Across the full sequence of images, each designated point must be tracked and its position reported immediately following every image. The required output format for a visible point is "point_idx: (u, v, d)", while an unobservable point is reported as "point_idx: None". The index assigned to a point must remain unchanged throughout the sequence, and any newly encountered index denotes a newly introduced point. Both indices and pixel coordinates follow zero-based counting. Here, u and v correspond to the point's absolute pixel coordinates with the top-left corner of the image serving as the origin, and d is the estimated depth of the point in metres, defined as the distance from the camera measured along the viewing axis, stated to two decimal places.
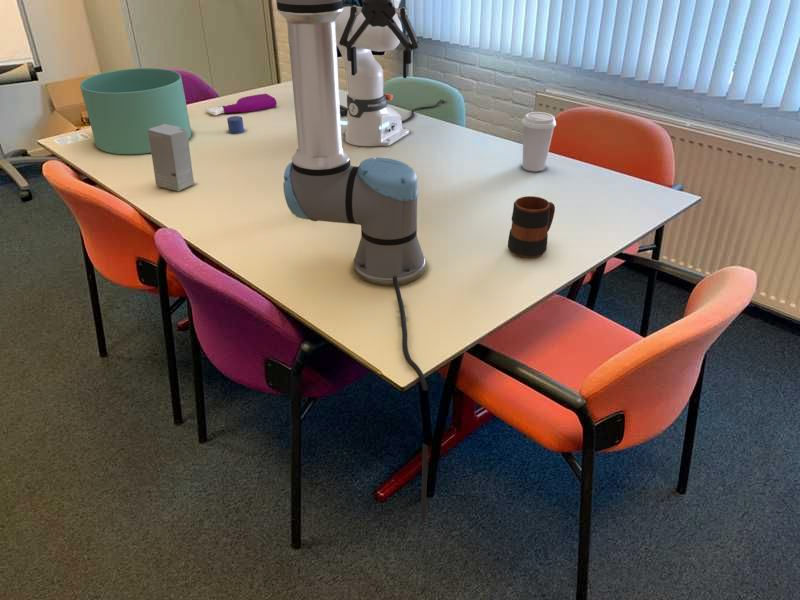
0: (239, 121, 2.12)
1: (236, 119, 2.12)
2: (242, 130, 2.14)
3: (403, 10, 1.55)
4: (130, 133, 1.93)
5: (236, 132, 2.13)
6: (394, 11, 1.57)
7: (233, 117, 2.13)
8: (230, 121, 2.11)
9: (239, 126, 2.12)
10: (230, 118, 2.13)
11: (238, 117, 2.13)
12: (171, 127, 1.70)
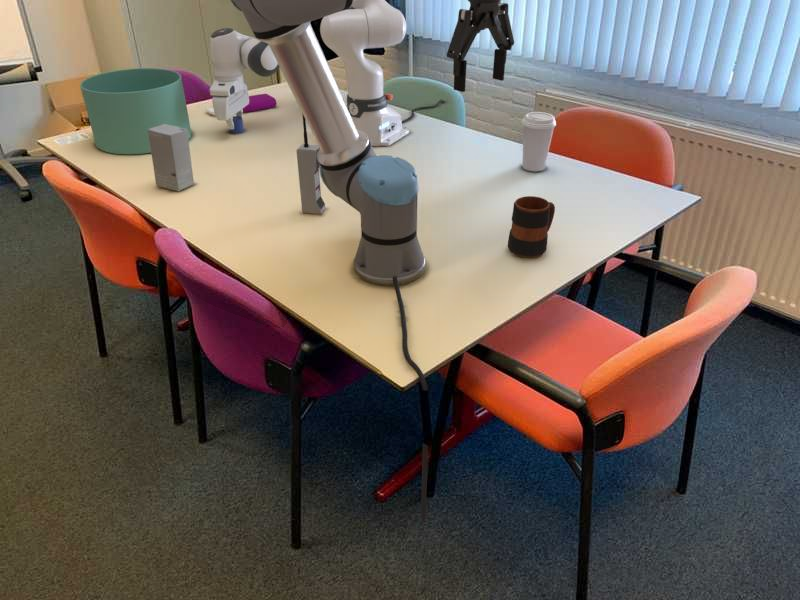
0: (239, 121, 2.12)
1: (236, 119, 2.12)
2: (242, 130, 2.14)
3: (507, 5, 1.40)
4: (130, 133, 1.93)
5: (236, 132, 2.13)
6: None
7: (233, 117, 2.14)
8: None
9: (239, 126, 2.12)
10: None
11: (238, 117, 2.14)
12: (171, 127, 1.70)
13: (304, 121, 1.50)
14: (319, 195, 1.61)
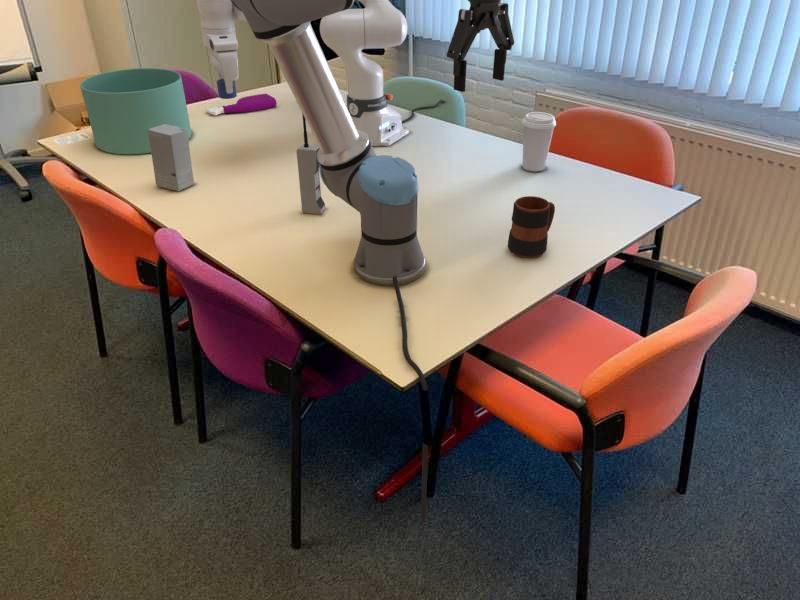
0: (234, 82, 1.80)
1: None
2: None
3: (507, 5, 1.40)
4: (130, 133, 1.93)
5: (232, 96, 1.80)
6: None
7: (222, 80, 1.80)
8: None
9: (234, 89, 1.80)
10: (221, 81, 1.79)
11: None
12: (171, 127, 1.70)
13: (304, 121, 1.50)
14: (319, 195, 1.61)
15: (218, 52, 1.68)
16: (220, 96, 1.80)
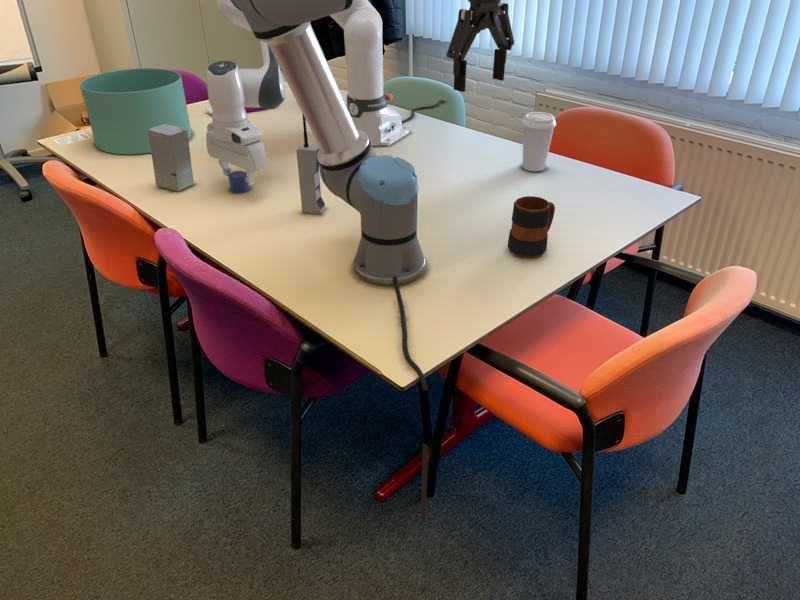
0: None
1: (243, 174, 1.72)
2: None
3: (507, 5, 1.40)
4: (130, 133, 1.93)
5: (247, 189, 1.74)
6: None
7: (233, 174, 1.72)
8: (241, 177, 1.71)
9: None
10: (234, 176, 1.71)
11: (237, 172, 1.73)
12: (171, 127, 1.70)
13: (304, 121, 1.50)
14: (319, 195, 1.61)
15: (246, 145, 1.61)
16: (235, 191, 1.72)
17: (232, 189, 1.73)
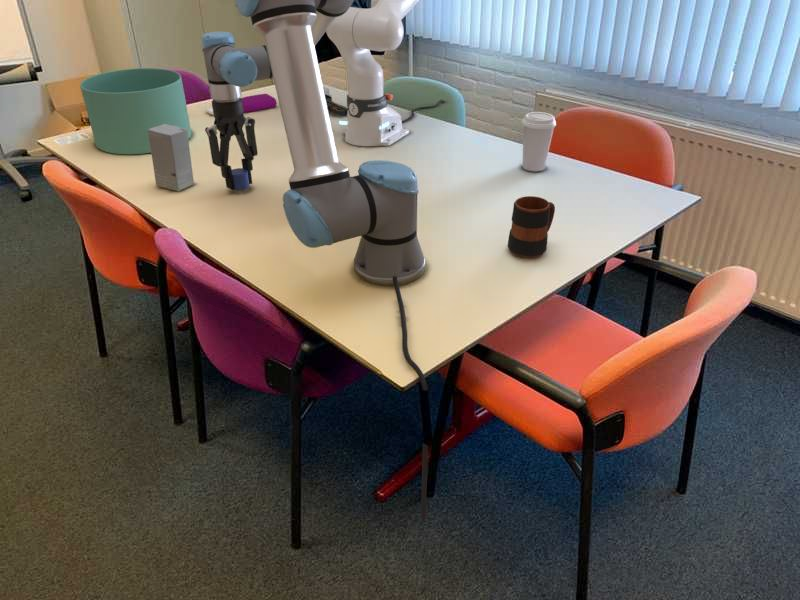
0: (247, 172, 1.72)
1: (243, 171, 1.72)
2: None
3: (254, 121, 1.68)
4: (130, 133, 1.93)
5: (248, 186, 1.73)
6: (245, 118, 1.66)
7: (233, 171, 1.71)
8: (242, 174, 1.70)
9: (248, 178, 1.73)
10: (235, 173, 1.70)
11: (238, 169, 1.73)
12: (171, 127, 1.70)
13: None
14: None
15: None
16: (236, 188, 1.72)
17: None
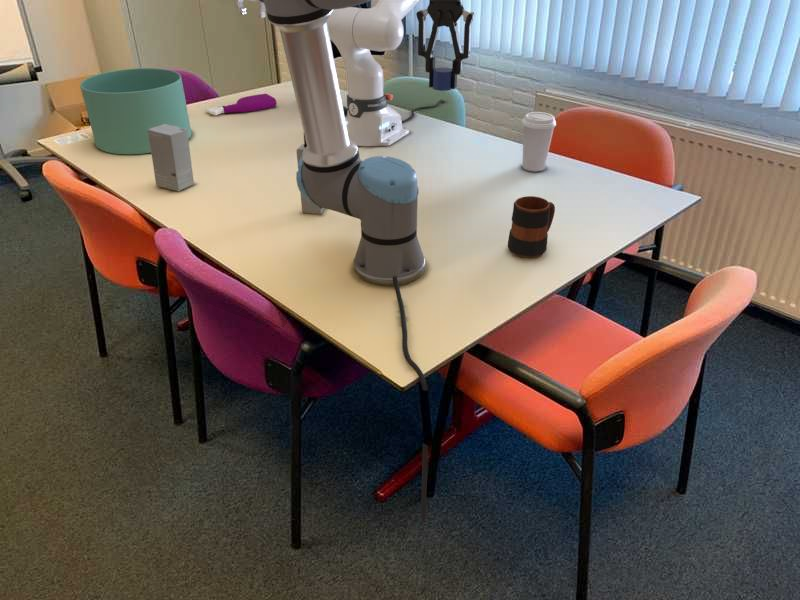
0: (451, 73, 1.55)
1: (446, 70, 1.55)
2: (451, 86, 1.57)
3: (471, 17, 1.47)
4: (130, 133, 1.93)
5: (445, 89, 1.56)
6: (462, 10, 1.47)
7: (440, 68, 1.57)
8: (439, 72, 1.54)
9: (449, 80, 1.55)
10: (437, 69, 1.56)
11: (447, 68, 1.57)
12: (171, 127, 1.70)
13: None
14: None
15: None
16: (433, 86, 1.57)
17: None
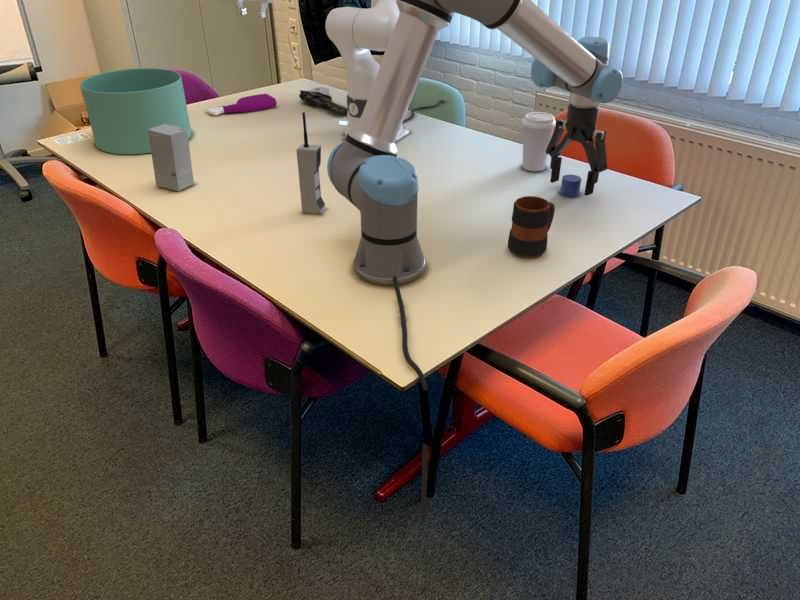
0: (576, 183, 1.68)
1: (573, 180, 1.69)
2: (576, 194, 1.70)
3: (599, 135, 1.58)
4: (130, 133, 1.93)
5: (568, 195, 1.70)
6: (592, 131, 1.60)
7: (571, 176, 1.71)
8: (565, 180, 1.69)
9: (573, 189, 1.69)
10: (566, 177, 1.70)
11: (577, 177, 1.70)
12: (171, 127, 1.70)
13: (304, 121, 1.50)
14: (319, 195, 1.61)
15: None
16: None
17: None
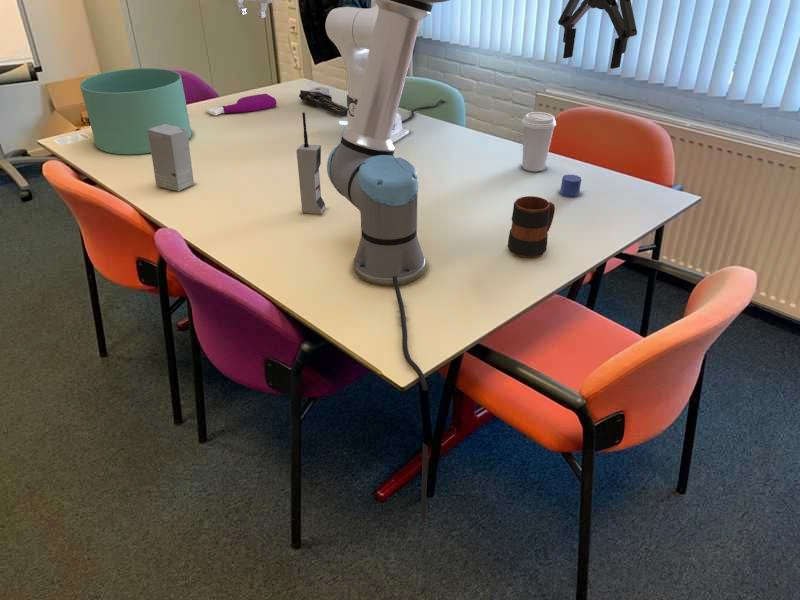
0: (576, 183, 1.68)
1: (573, 180, 1.69)
2: (576, 194, 1.70)
3: None
4: (130, 133, 1.93)
5: (568, 195, 1.70)
6: None
7: (571, 176, 1.71)
8: (565, 180, 1.69)
9: (573, 189, 1.69)
10: (566, 177, 1.70)
11: (577, 177, 1.70)
12: (171, 127, 1.70)
13: (304, 121, 1.50)
14: (319, 195, 1.61)
15: None
16: None
17: None
